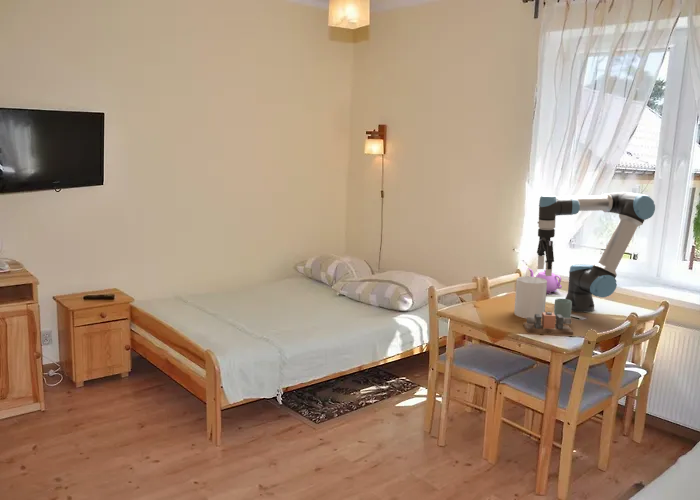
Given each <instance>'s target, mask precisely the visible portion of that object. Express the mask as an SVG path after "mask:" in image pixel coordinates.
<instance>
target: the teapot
mask: <svg viewBox="0 0 700 500" xmlns="http://www.w3.org/2000/svg"><path fill="white" fill-rule="evenodd" d="M527 269H528V271H529V272H530V273H529V274H530V275H529V277H538V278H543V279H545V280H547V289H546V295H552V293H555V292H556V291H557V290H560V289H561V290H562V287H563V286H562V284H561V282H562V278H561V276H560V275H557V274H555V273H553V272H552V276H545V272H546V269H543V270H544V271H540V272H538V273H537V275H536V276H534V271H533V269H531V268H527Z"/></svg>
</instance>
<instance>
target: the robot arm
mask: <svg viewBox="0 0 700 500" xmlns="http://www.w3.org/2000/svg"><path fill="white" fill-rule="evenodd" d="M585 211H587V212H588V211H589V212H590V211H591V212H592V211H602V212H603V213H613V214H617V215H618V218H619V221H618V223H617V225H616V227H615V229H614V231H613V233H612V235H611V237H610V238H609V241H608V243H607V245H606V247H605V249H604V251H603V253H602V255H601V256H600V258H599V260H598V263H596V264H593V265H592V264H584V263H583V264H573V265H571V266H570V267H569V271H568V273H569V275H568V276H569V277H568V287H567V294H566V296H565V298H564V299H568V300H571V301H572V309H571V312H578V313H591V312H593V311H595V304H594V298H593V296H594V297H597V298H598V297H599V298H607V297H609V296H611V295H612V294H614V293H615V291H616V289H617V286H618V284H617V280H616V278H617V272H616V271H617V269H618V266H619V265H620V262H621V260H622V258H623V256H624V254H625V252H626V250H627V248H628V246H629V244H630V242H631V240H632V238H633V236H634V234H635V233H636V231H637V229H638V227H640V226H643V224H644V222H645V221H646V220H649V219H651V218H652V217H653V216H654V213H655V211H656V204H655V201H654V199H653V198H652V197H651V196H649V195H647V194H643V193H636V192H630V191H629V192H628V191H621V192H620V191H619V192H611V193H610V192H608V193H603V194H601V195H558V196H557V195H551V194H550V195H541V196H540V198H539V203H538V221H537V224H538V226H537V227H538V230H537V237H539V239H538V245H537V250H536V253H537V270H546V272H545V276H552V273H553V263H554V262H555V260H554V259H555V258H554V257H555V254H554V244H553V243H554V241H553V240H551V239H552V238H555V235H556V234H555V233H556V229H555V228H556V216H558V217H559V216H572V215H577V214H579V212H585ZM545 258H546V260H545ZM544 266H545V267H544ZM544 268H545V269H544Z"/></svg>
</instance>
